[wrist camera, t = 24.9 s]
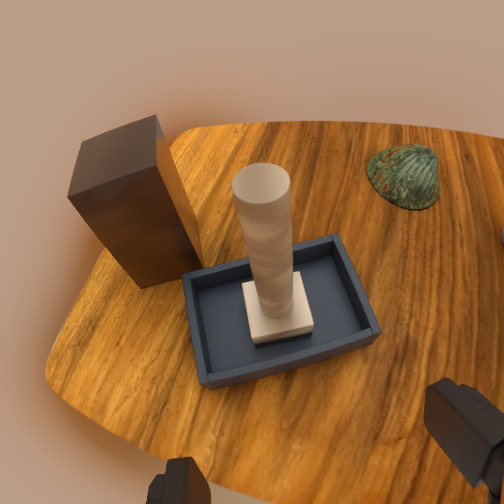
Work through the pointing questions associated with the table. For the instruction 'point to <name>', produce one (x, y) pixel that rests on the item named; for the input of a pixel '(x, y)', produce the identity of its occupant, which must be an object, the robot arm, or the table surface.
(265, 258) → the wooden peg on base
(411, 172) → the seashell
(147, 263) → the stand
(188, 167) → the table surface
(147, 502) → the robot arm
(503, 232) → the cup
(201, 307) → the tray
